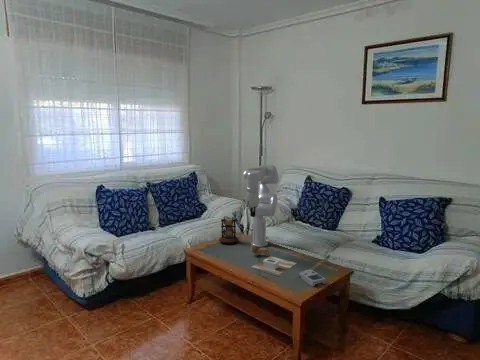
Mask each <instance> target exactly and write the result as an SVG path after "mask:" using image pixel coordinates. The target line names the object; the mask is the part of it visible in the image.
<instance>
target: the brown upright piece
mask: <svg viewBox="0 0 480 360" xmlns="http://www.w3.org/2000/svg"><path fill="white" fill-rule="evenodd" d="M220 221H221V224H220V225H221V231H220V232H221V233H220V234H221V237H219V238H218V241H219V242H220V244H221V243H222V244H233V245H235V243H237V242H238V241H239V237H237V235H236V233H237V232H236V230H237V229H236V228H237V225H236V224H237V223H236V221H237V219H235V218H234V217H232V218H226V217H225V216H224V217H223V219H220Z"/></svg>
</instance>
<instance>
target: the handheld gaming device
mask: <svg viewBox="0 0 480 360" xmlns="http://www.w3.org/2000/svg"><path fill="white" fill-rule="evenodd" d="M299 278H300V279H301V280H303V281H304V282H306V283H307V284H308V285H309V286H311V287H315V286H316V285H317V284H323V285H325V284H327V283H326V282H327V281H326V280H327V279H326V278H325V277H323V276H322V275H321V274H319V273H318V272H316V271H315V270H313V269H312V268H311V269H306V270H302V271H300V272H299Z"/></svg>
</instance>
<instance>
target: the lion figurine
mask: <svg viewBox="0 0 480 360" xmlns="http://www.w3.org/2000/svg"><path fill="white" fill-rule="evenodd" d="M249 247H250V248H249V250H250V252H251V253H252V254H255V256H256V257H258V256H259V254H260V255H261V254H264V255H265V256H266V257H267V258H268V257H270V256H271V254H270V251H269V249H268V248H265V247H262V248H261V247H258V246H256V245H252V244H250V246H249Z"/></svg>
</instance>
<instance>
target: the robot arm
mask: <svg viewBox="0 0 480 360" xmlns="http://www.w3.org/2000/svg"><path fill="white" fill-rule="evenodd" d="M242 178H243V180H244V181H245V182H246V183H247V185H246V186H247V187H246V188H247V189H246V190H247V191H246V195H245V196H246V197H245V207H246V208H247V210H249V215H250V217H252V220H253V221H252V222H253V223H252V226H253V229H252V231H253V232H252V235H253V236H252V241H251V242H250V245H256V246H258V247H259V248H261V247H262V248H264V247H266V246H268V245H269V242H268V241H267V240H268V239H270V238H269V236H266V235H267V220H266V219H265V217H267V218H270V217H275V214H276V209H277V205H278V196H277V194H275V193H272V192H271V193H270V188H269V187H268V186H267V185H277V184H279V181H280V180H279V178H280V177H279V174H278V169H277V167H276V166H275V165H273V164H261V165H259V166H258V167H252V168H247V169H246V170H244V172H243V174H242Z"/></svg>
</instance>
